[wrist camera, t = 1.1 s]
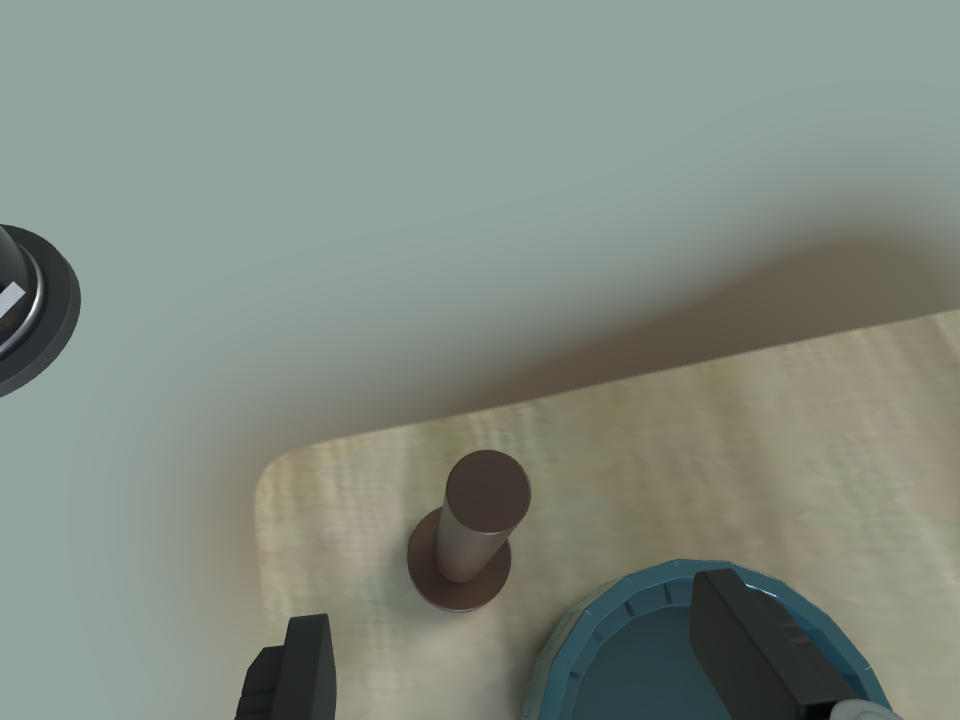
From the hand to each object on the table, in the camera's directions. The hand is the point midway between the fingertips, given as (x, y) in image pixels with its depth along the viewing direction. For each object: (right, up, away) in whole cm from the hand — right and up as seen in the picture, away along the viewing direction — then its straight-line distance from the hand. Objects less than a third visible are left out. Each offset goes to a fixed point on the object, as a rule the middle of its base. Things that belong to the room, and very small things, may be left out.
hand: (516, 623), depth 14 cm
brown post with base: (-2, -5, +19) cm, 20 cm away
